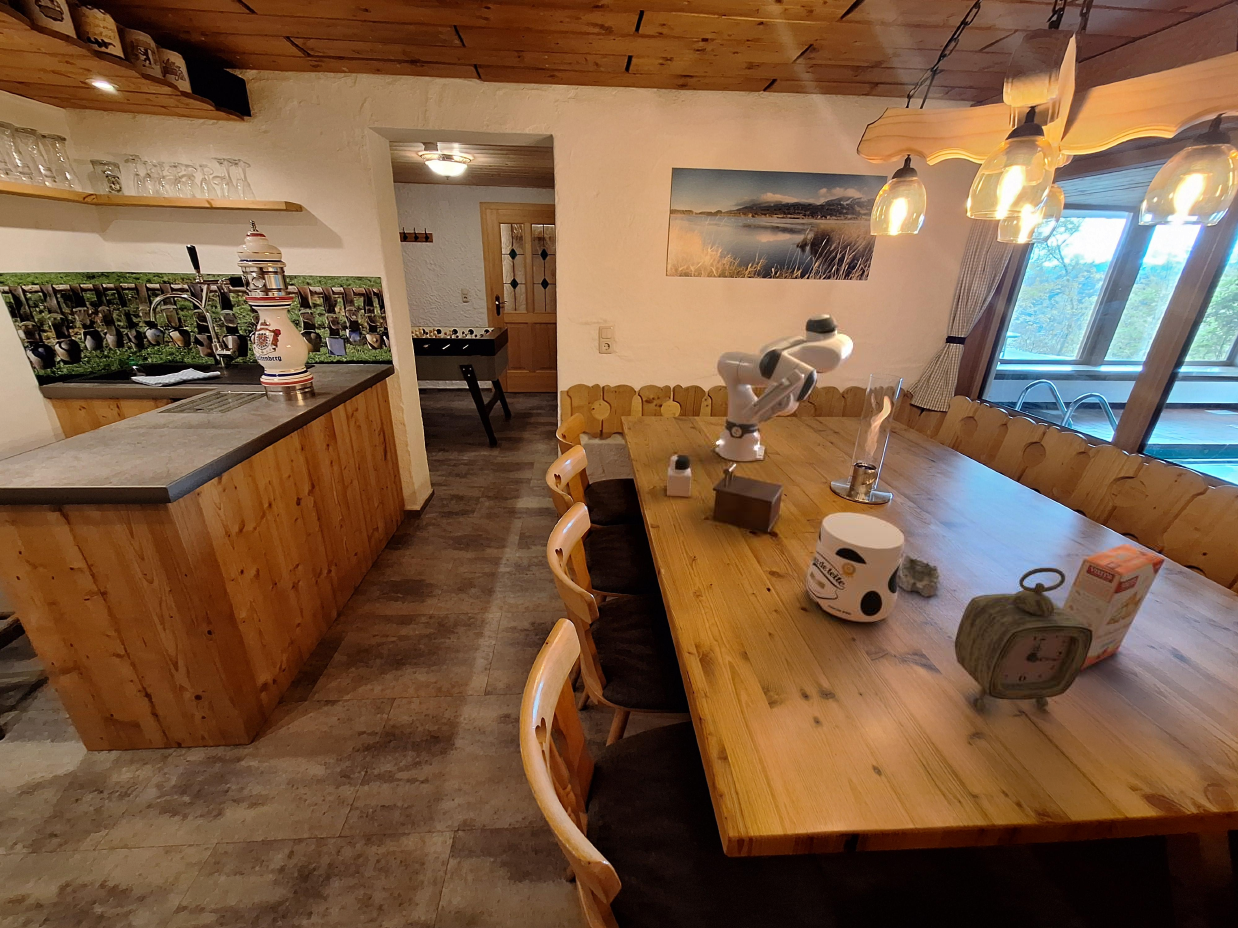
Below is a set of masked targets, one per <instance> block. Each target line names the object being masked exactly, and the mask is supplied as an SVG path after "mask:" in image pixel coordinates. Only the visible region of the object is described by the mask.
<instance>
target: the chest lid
mask: <svg viewBox="0 0 1238 928" xmlns="http://www.w3.org/2000/svg"><path fill="white" fill-rule="evenodd" d="M736 468H737V463H736V462H730V463H729V464H728V465H726V466H725V467H724V469H723V470H722V474H723V475H724V476H723V477H722V478H721V479H720V480H719V481H718V482H717V483H716V484H715V485H714V486H713V488H712V491H713V492H716V491H717V492H721V493H725V494H730V495H734V496H738V497H743V498H747V499H751V500H756V501H760V502H764V503H769V504H772V503H773V502H774V500H775V499H776V497H777V496H778V494H779V493H780V491H781V490H782V488H783V489H784V485H783V484H779V483H773V482H769V481H764V480H761V479H760V480H759V479H755V478H749V477H745V476H742V475H741V476H740V475H735V474H734V471H735V469H736Z"/></svg>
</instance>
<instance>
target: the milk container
mask: <svg viewBox="0 0 1238 928" xmlns="http://www.w3.org/2000/svg"><path fill="white" fill-rule="evenodd" d="M904 549H905V534H904V533H903V532H902V531H901V530H900V529H899V528H898V527H897V526H895V525H893V524H892V523H890V522H888V521H886V520H883V519H881V518H878V517H875V516H872V515H868V514H865V513H864V514H863V513H856V512H835V513H831V514H828V515H827V516H825V517H824V518H823V519H822V522H821V525H820V529H819V533H818V538H817V541H816V550H815V554H814V557H813V559H812V561H811V562H810V564H809V566H808V569H807V572H806V577H805V579H806V580H805V583H806V584H805V585H806V586H805V587H806V591H807V594H808V595H809V598H810V600H811V601H812V602H813V603H814V604H815V605H816V606H817V607H818V608H819V609H821V610H823V611H825V612H826V613H827V614H830V615H831V616H832V617H836V618H839V619H841V620H844V621H847V622H848V621H849V622H854V623H858V624H859V623H860V624H861V623H864V624H865V623H876V622H879V621H882V620H884V619H885V618H887V617H888V616H889V615H890V613H891V612H892V610H893V609H894V608H895V604H896V603H897V599H898V582H897V580H898V579H897V578H898V573H899V571H900V568H901V564H902V557H903V555H904V551H905V550H904Z"/></svg>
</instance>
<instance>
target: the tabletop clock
mask: <svg viewBox="0 0 1238 928" xmlns="http://www.w3.org/2000/svg"><path fill="white" fill-rule="evenodd" d="M1040 573H1053V574H1054V573H1055V574H1057V575H1058V576H1060V580H1059V582H1057V583H1055V584H1052V585H1050V586H1045V584H1044V583H1041V582H1037V583H1035V585H1034V587H1030V586H1026V585H1025V584H1024V582H1025V580H1026V579H1027V578H1029V577H1030V576H1033V575H1036V574H1040ZM1065 581H1066V574H1065V573H1064V572H1063V571H1062V570H1061V569H1058V568H1055V567H1038V568H1033V569H1031V570H1029V571H1027V572H1025V573H1024V574H1023V575H1022V576H1021V577H1020V579H1019V582H1018V583H1019V584H1018V585H1019V587H1020V588H1021V589H1022V590H1018V591H1017V592H1015V593H994V594H992V593H991V594H981V595H977V596H975V597H972V598H971V599H970V601H969V602H968V604H967V606H965V609H964V611H963V614H962V616H961V619H960V621H959V624H958V628H957V632H956V635H955V639H954V651H955V657H956V662H957V663H958V664H959V665H960V666H961V667H962V668H963V669H964V670H965V671H966V673H968V675H969V676H970V677H971V678H972V679H973V680H974V681H975V682H976V683H977V684H978V686H980V688H981V689H980V693H979V697H975V698H974V699H973V701H972V702H973V706H974V707H975V708H976V709H978V710H983V709H985V708H986V701H985V700H984V699H985V697H986V696H987V695H988V696H989V697H991V698H994V699H999V700H1020V701H1027V700H1035V703H1036V705H1038V707H1041V708H1046V707H1048V706H1049V701H1048V699H1047V698H1054V697H1057V696H1060V695H1064V694H1065V693H1066V692H1067V690H1069V689H1070V687H1072V685H1073V684H1074V682H1075V681H1076V678H1078V676H1079V673H1080V672H1081V671H1082V670H1081V668H1082V666H1083V665H1084V663H1085V660H1086V657H1087V655H1088V652H1089V649H1090V646H1091V642H1092V630H1091V629H1090V628H1088V627H1087V626H1085V625H1084V624H1083V623H1081V622H1080V621H1078V620H1077V619H1076V618H1074V617H1073V616H1071V615H1070V614H1069V613H1067V612H1066V611H1064V610H1063V609H1062V607H1060V606H1059V605H1058V604H1056V603H1055V602H1053V600H1052V599H1051V598H1050V596H1048V595H1047V594H1046V593H1047V592H1051V591H1054V590H1058V588H1060V587H1061V586H1062V585H1063V584H1065Z"/></svg>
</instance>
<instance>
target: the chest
mask: <svg viewBox="0 0 1238 928" xmlns="http://www.w3.org/2000/svg"><path fill="white" fill-rule="evenodd" d="M783 489H784V487H783V488H782V490H781V491H780V493H779V494H778V496H777V497H776V499H775V500H774V502H773V503H772V504H769V503H764V502H760V501H756V500H751V499H747V498H743V497H738V496H734V495H730V494H725V493H721V492H717V491H715V495H714V506H713V515H712V520H713V521H717V522H721V523H726V524H728V525H732V526H737V527H740V528H745V529H748V530H751V531H756V532H760V533H764V534H769V532H770V531H771V529H772V528H773V526H774V524H775V523H776V521H777V519H778V517H779V515H780V509H781V504H782V503H781V502H782V496H783Z"/></svg>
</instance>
